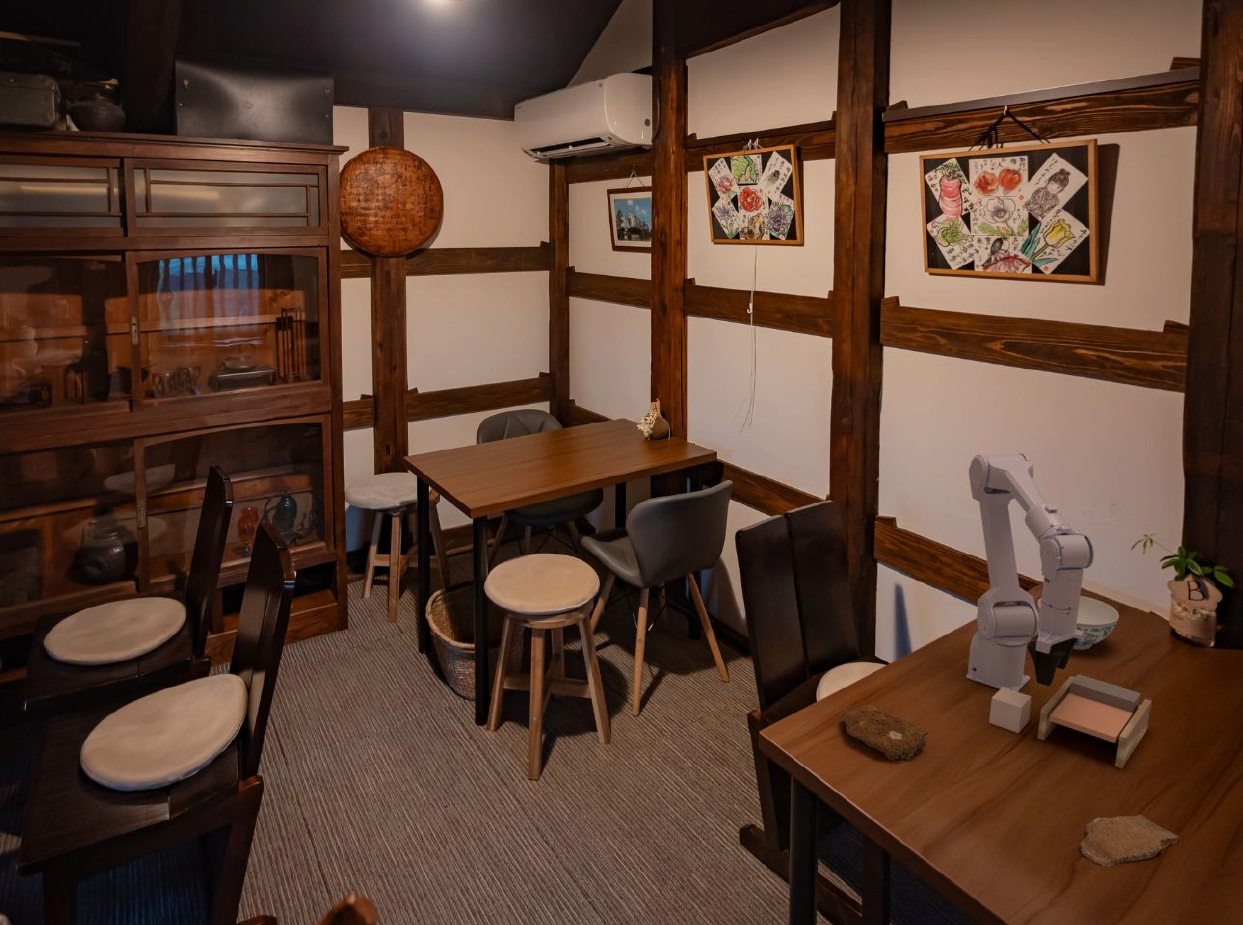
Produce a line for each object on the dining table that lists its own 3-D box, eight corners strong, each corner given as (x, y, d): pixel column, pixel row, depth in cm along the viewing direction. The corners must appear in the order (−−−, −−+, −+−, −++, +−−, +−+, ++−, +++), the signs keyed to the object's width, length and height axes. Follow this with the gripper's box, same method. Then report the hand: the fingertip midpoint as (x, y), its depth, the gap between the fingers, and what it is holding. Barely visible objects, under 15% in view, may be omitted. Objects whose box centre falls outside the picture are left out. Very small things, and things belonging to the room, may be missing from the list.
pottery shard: (1119, 890, 117) (1182, 842, 124) (1121, 874, 116) (1184, 827, 123) (1062, 853, 124) (1124, 810, 131) (1063, 838, 123) (1125, 796, 130)
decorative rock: (822, 737, 151) (902, 776, 141) (823, 717, 150) (904, 755, 140) (856, 709, 159) (935, 744, 149) (858, 689, 157) (937, 723, 147)
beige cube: (989, 723, 154) (991, 697, 153) (1000, 711, 157) (1002, 686, 156) (1018, 733, 150) (1021, 707, 149) (1028, 721, 154) (1031, 696, 153)
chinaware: (1041, 621, 193) (1045, 588, 191) (1118, 637, 185) (1122, 604, 183) (1027, 647, 181) (1031, 612, 179) (1108, 666, 173) (1113, 630, 171)
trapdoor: (1049, 720, 147) (1051, 704, 146) (1076, 689, 157) (1078, 674, 156) (1114, 743, 140) (1117, 726, 139) (1138, 708, 150) (1140, 693, 149)
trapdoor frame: (1037, 738, 149) (1041, 709, 147) (1067, 703, 160) (1070, 675, 158) (1121, 768, 140) (1126, 738, 139) (1147, 729, 151) (1151, 700, 150)
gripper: (1072, 623, 139) (1062, 699, 143) (1098, 595, 149) (1088, 667, 153) (1026, 611, 144) (1018, 685, 147) (1054, 585, 154) (1045, 655, 158)
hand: (1050, 675), depth 150 cm, fingers open, 7 cm apart
